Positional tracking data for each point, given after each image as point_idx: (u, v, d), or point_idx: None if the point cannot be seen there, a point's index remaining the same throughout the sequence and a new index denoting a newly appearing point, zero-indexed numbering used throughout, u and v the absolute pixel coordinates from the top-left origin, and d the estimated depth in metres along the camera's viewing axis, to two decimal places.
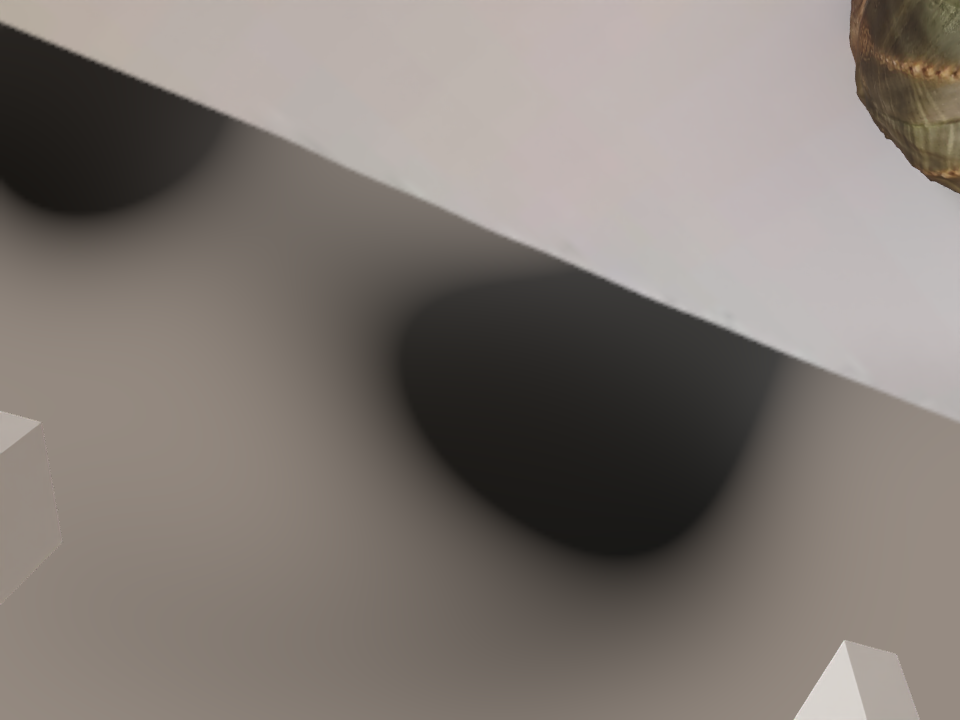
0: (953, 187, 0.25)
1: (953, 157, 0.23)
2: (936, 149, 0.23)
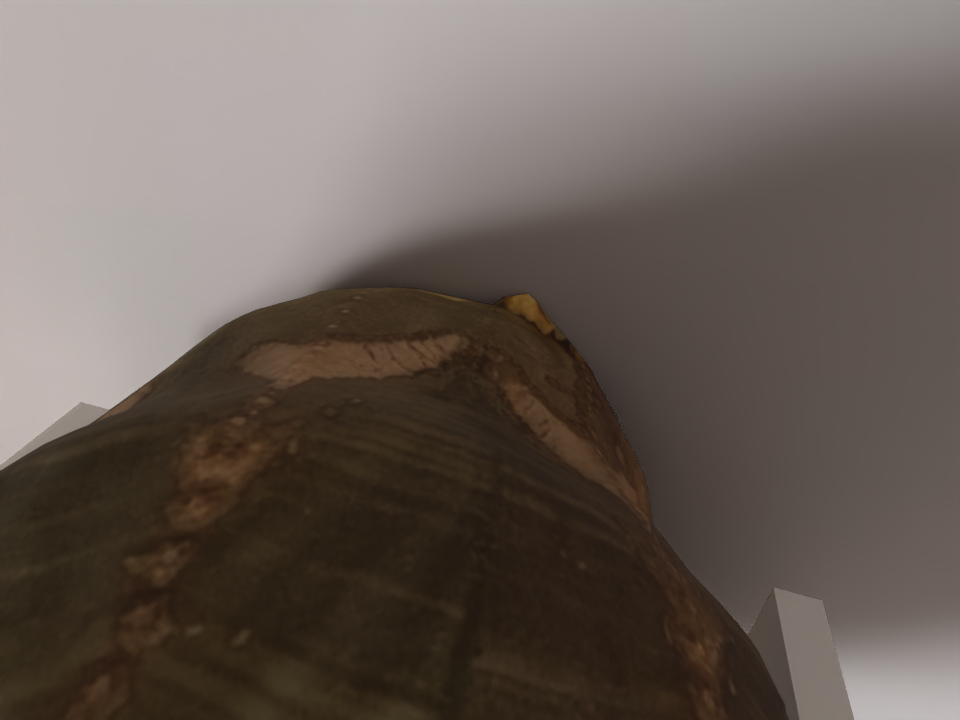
0: None
1: None
2: None
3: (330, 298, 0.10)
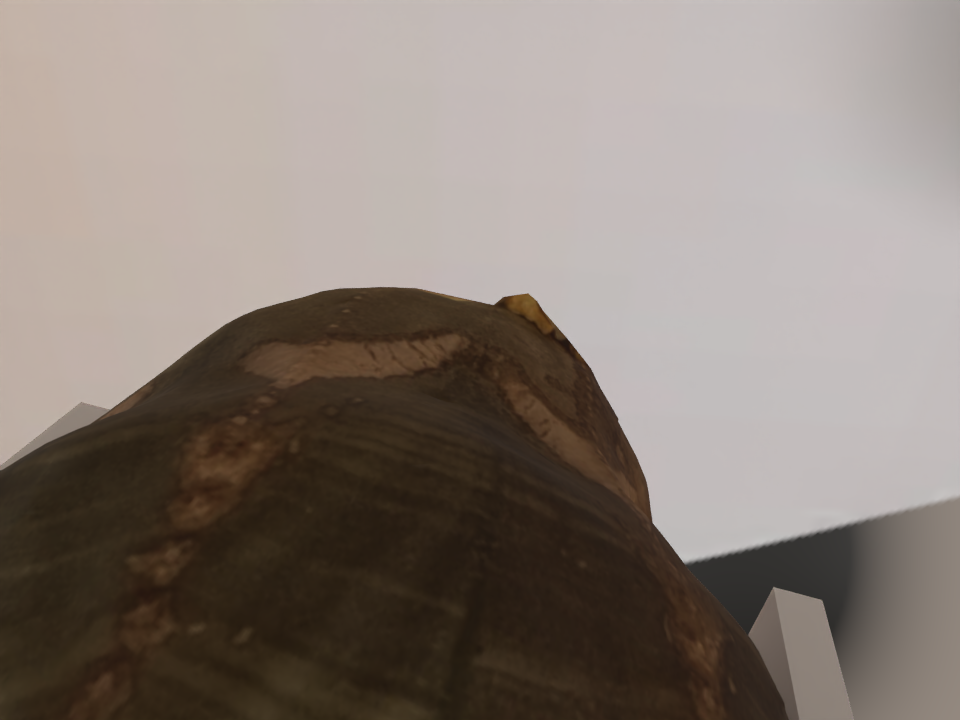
0: None
1: None
2: None
3: (331, 298, 0.10)
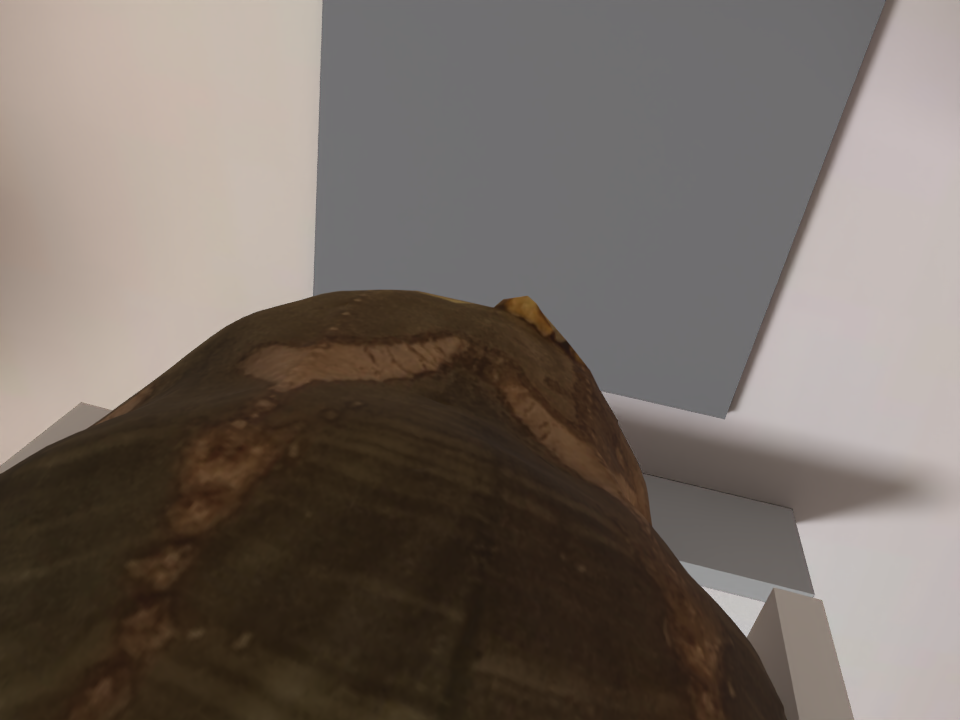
0: None
1: None
2: None
3: (330, 300, 0.10)
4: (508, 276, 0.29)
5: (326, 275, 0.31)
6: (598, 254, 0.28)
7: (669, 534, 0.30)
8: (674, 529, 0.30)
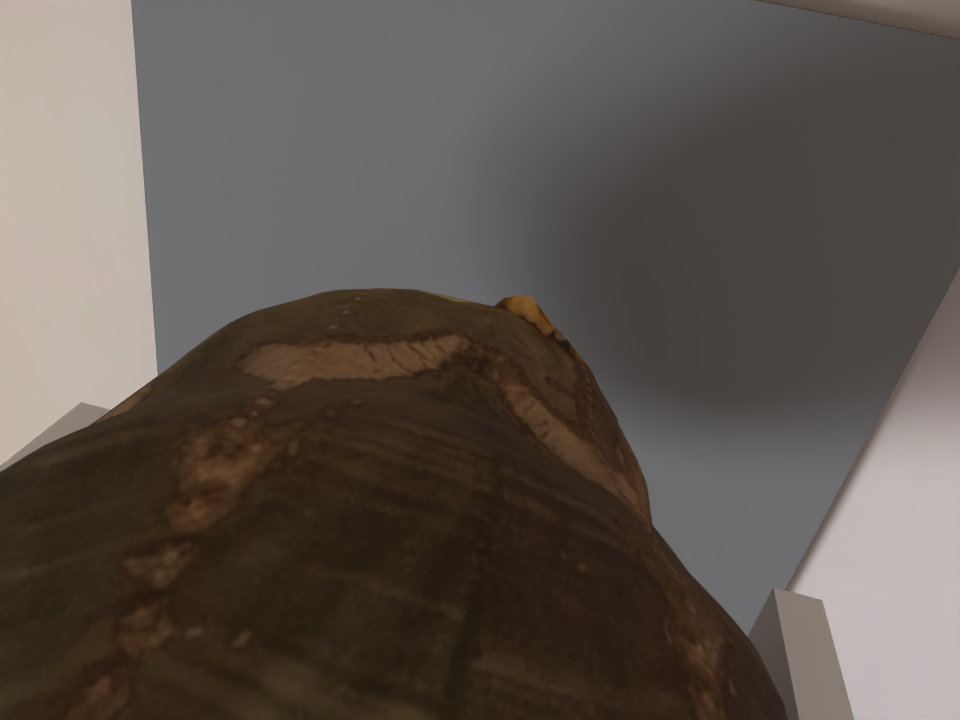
0: None
1: None
2: None
3: (330, 299, 0.10)
4: None
5: None
6: None
7: None
8: None
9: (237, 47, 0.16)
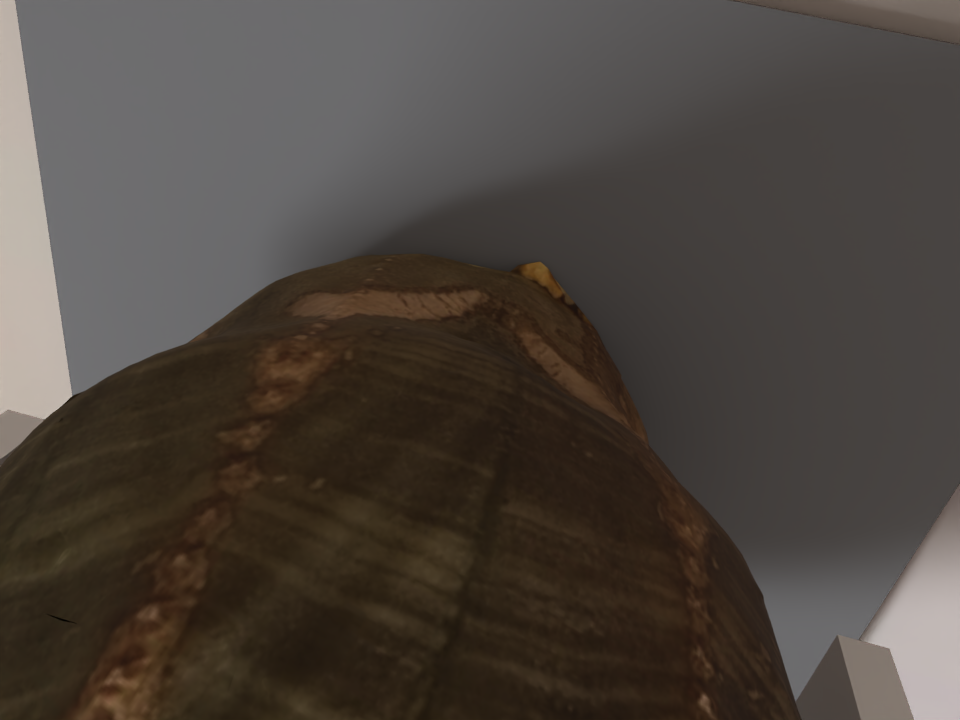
0: None
1: None
2: None
3: (364, 261, 0.12)
4: None
5: None
6: None
7: None
8: None
9: (147, 69, 0.13)
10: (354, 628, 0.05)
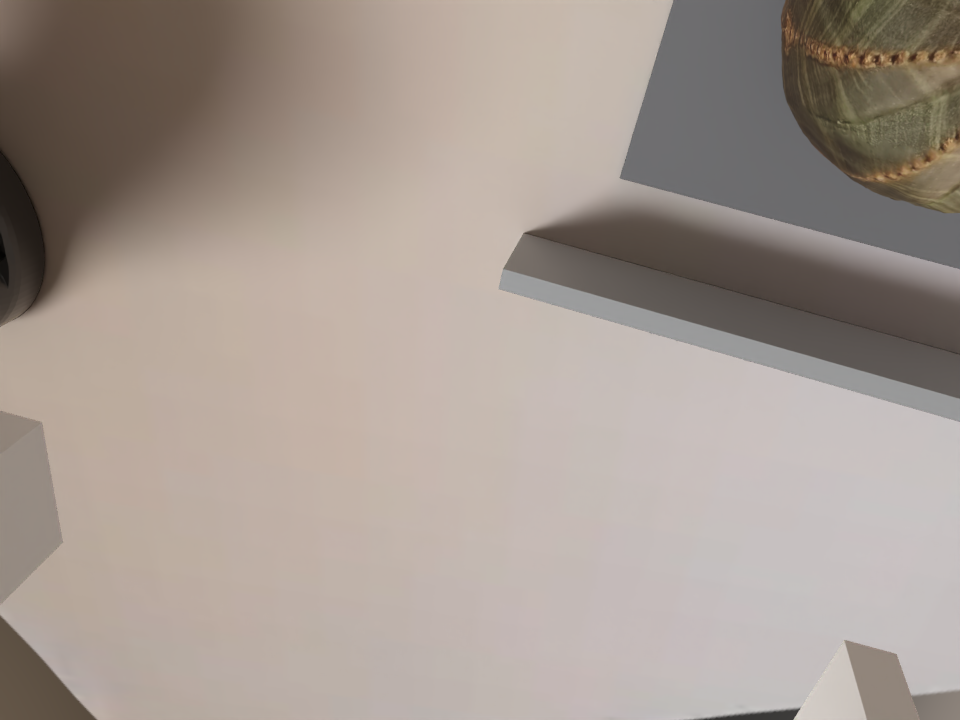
0: None
1: None
2: None
3: None
4: None
5: (648, 127, 0.32)
6: None
7: None
8: None
9: None
10: None
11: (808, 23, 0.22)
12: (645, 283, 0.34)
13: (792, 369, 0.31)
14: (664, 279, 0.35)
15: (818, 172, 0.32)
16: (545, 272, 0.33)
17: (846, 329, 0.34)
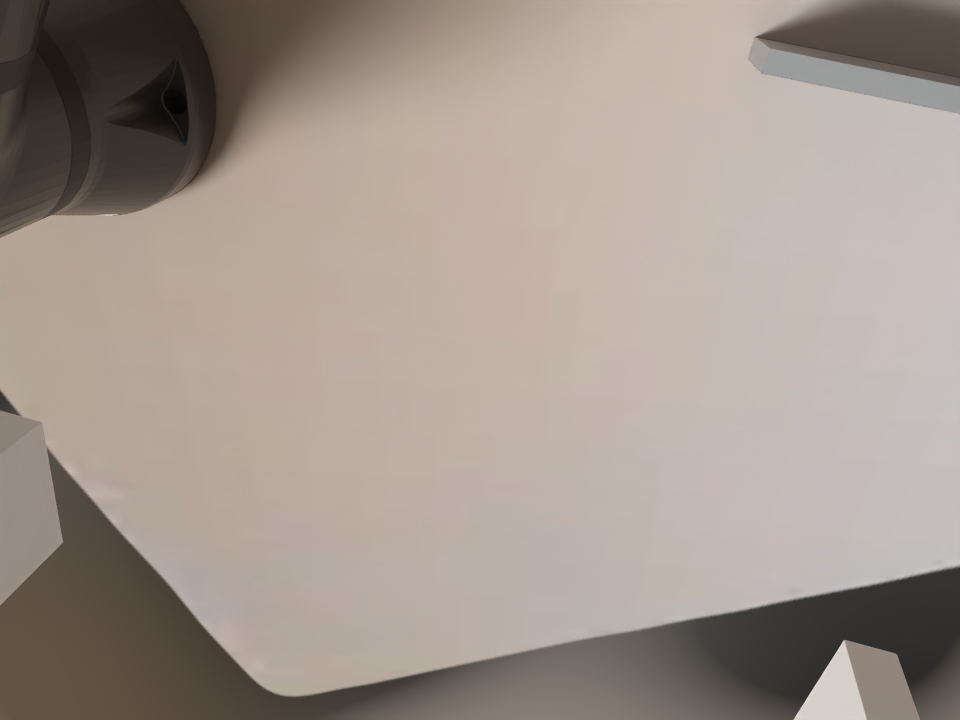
0: None
1: None
2: None
3: None
4: None
5: None
6: None
7: None
8: None
9: None
10: None
11: None
12: (902, 69, 0.33)
13: None
14: (914, 70, 0.34)
15: None
16: (809, 54, 0.31)
17: None
